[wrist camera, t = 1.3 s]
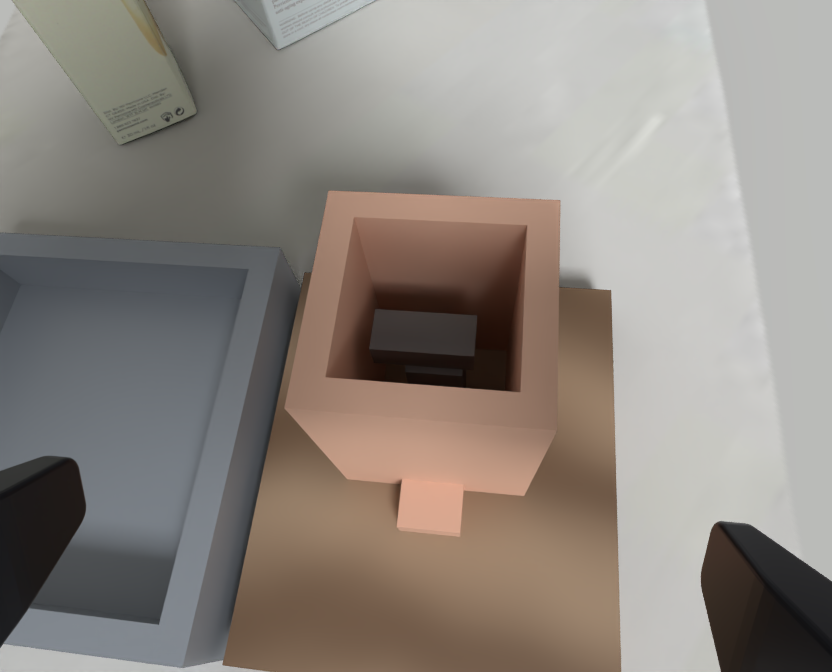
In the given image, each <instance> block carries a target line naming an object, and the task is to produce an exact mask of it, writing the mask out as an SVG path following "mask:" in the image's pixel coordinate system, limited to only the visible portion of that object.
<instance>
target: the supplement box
mask: <svg viewBox="0 0 832 672" xmlns="http://www.w3.org/2000/svg"><path fill="white" fill-rule="evenodd" d="M234 1H235V2H236V3H237V4H238V5H239V6H240V8H241V9H242V10H243V11H244V12H245V13H246V14H247V16H248V17H249V18H250V19H251V20H252V21H253V22H254V24H255V25H256V26H257V27H258V28H259V29H260V30H261V32H262V33H263V34H264V35H265V36H266V37H267V38H268V40H269V41H270V42H271V43H272V44H273V45H274V46H275V48H276V49H278V50H279V49H282V48H284V47H286V46H288V45H290V44H292V43H294V42H296V41H298V40H300V39H302V38H304V37H306V36H308V35H309V34H311V33H313V32H315V31H317V30H319V29H321V28H323V27H325V26H327V25H329V24H331V23H333V22H335V21H337V20H339V19H341V18H343V17H345V16H346V15H348V14H350V13H352V12H354V11H356V10H358V9H360V8H362V7H363V6H365V5H367V4H369V3H371V2H373V1H375V0H234Z"/></svg>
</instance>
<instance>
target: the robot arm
mask: <svg viewBox="0 0 832 672" xmlns="http://www.w3.org/2000/svg"><path fill="white" fill-rule="evenodd" d="M85 513H86V500H85V495H84V490H83V485H82V480H81V475H80V470H79V466H78V464H77V462H76V461H75V460H74V459H72V458H70V457H60V456H49V455H48V456H42V457H39V458H36V459H33V460H30V461H27V462H24V463H21V464H18V465H15V466H13V467H10V468H7V469H4V470H1V471H0V648H1V646H2V645H3V644H4V642H5V641H6V640H7V638H8V637H9V636H10V634H11V633H12V632H13V630H14V629H15V627H16V626H17V625H18V623H19V622H20V620H21V619H22V618H23V616H24V615H25V613H26V612H27V610H28V609H29V607H30V606H31V604H32V603H33V601H34V599H35V598H36V596H37V595H38V593H39V591H40V590H41V588H42V587H43V585H44V583H45V582H46V580H47V579H48V577H49V575H50V574H51V572H52V570H53V569H54V567H55V566H56V564H57V562H58V561H59V559H60V557H61V556H62V554H63V553H64V551H65V549H66V548H67V546H68V545H69V543H70V541H71V540H72V538H73V536H74V535H75V533H76V532H77V530H78V528H79V527H80V525H81V523H82V522H83V519H84V517H85ZM701 587H702V593H703V597H704V601H705V605H706V610H707V614H708V618H709V622H710V627H711V631H712V635H713V639H714V644H715V648H716V652H717V656H718V661H719V665H720V669H721V672H832V581H830V580H829V579H828V578H826V577H824V576H823V575H822V574H820V573H819V572H818V571H816V570H815V569H813V568H812V567H810V566H809V565H807V564H806V563H805V562H803V561H802V560H800V559H799V558H797V557H796V556H795V555H793V554H792V553H790V552H789V551H787V550H786V549H785V548H783V547H782V546H780V545H779V544H777V543H776V542H775V541H773V540H772V539H770V538H769V537H767V536H766V535H765V534H763V533H762V532H760V531H759V530H757V529H756V528H754V527H753V526H751V525H749V524H745V523H734V522H724V521H719V522H717V523H716V524H714V526H713V528H712V530H711V533H710V537H709V541H708V545H707V550H706V554H705V558H704V562H703V566H702V571H701Z"/></svg>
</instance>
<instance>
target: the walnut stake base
mask: <svg viewBox="0 0 832 672" xmlns="http://www.w3.org/2000/svg"><path fill="white" fill-rule="evenodd" d="M311 275H312V273H304V278H303V283H302V287H301V292H300V297H299V302H298V306H297V311H296V316H295V321H294V326H293V330H292V335H291V340H290V345H289V349H288V354H287V359H286V364H285V369H284V373H283V378H282V383H281V388H280V392H279V397H278V402H277V407H276V412H275V416H274V421H273V426H272V431H271V435H270V440H269V445H268V450H267V455H266V459H265V464H264V469H263V474H262V478H261V483H260V488H259V493H258V497H257V502H256V507H255V512H254V517H253V521H252V526H251V531H250V536H249V540H248V545H247V550H246V555H245V560H244V564H243V569H242V574H241V579H240V583H239V588H238V593H237V598H236V603H235V607H234V612H233V617H232V622H231V626H230V631H229V636H228V641H227V646H226V650H225V655H224V660H223V665H225V666H232V667H240V668H247V669H255V670H262V671H270V672H621V647H620V609H619V571H618V533H617V495H616V457H615V419H614V381H613V343H612V305H611V290H598V289H581V288H563V287H559V334H558V409H557V432H556V434H555V436H554V438H553V440H552V442H551V444H550V446H549V448H548V450H547V452H546V454H545V456H544V458H543V460H542V462H541V464H540V466H539V468H538V470H537V472H536V474H535V475H534V477H533V479H532V481H531V483H530V485H529V487H528V489H527V491H526V493H525V495H524V496H517V495H507V494H496V493H486V492H475V491H465V490H464V494H463V508H462V521H461V534H460V537H456V536H447V535H437V534H427V533H418V532H408V531H400V530H399V529H398V528H397V519H398V510H399V501H400V493H401V484H392V483H381V482H371V481H360V480H350V479H347V478H346V477H345V476H344V475H343V474H342V473H341V472H340V471H339V469H338V468H337V467H336V466H335V465H334V464H333V463H332V461H331V460H330V459H329V458H328V457H327V456H326V455H325V454H324V452H323V451H322V450H321V449H320V448H319V447H318V446H317V444H316V443H315V442H314V441H313V440H312V439H311V438H310V437H309V435H308V434H307V433H306V432H305V431H304V430H303V429H302V428H301V426H300V425H299V424H298V423H297V422H296V421H295V420H294V418H293V417H292V416H291V415H290V414H289V413H288V412H287V411H286V409H285V408H284V407H285V402H286V397H287V393H288V388H289V383H290V378H291V373H292V368H293V363H294V358H295V353H296V348H297V343H298V339H299V334H300V329H301V324H302V319H303V314H304V309H305V304H306V299H307V294H308V289H309V285H310V280H311ZM476 331H477V315H461V314H446V313H430V312H414V311H398V310H383V309H375V313H374V320H373V326H372V333H371V340H370V346H369V350H370V353H371V356H372V358H373V361H374V363H382V364H386V369H385V377H384V382H393V383H405V384H418V385H431V386H444V387H457V388H470V389H483V390H496V391H505V380H506V360H507V351H502V350H488V349H475V345H476Z"/></svg>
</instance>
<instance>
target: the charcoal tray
mask: <svg viewBox="0 0 832 672" xmlns="http://www.w3.org/2000/svg"><path fill="white" fill-rule="evenodd" d="M300 292H301V288H300V286H299V284H298V282H297V280H296V278H295V276H294V274H293V272H292V270H291V268H290V266H289V264H288V262H287V260H286V258H285V256H284V254H283V252H282V250H281V248H280V247H261V246H242V245H224V244H205V243H186V242H167V241H148V240H130V239H111V238H92V237H73V236H55V235H36V234H17V233H0V471H1V470H4V469H7V468H10V467H13V466H15V465H18V464H21V463H24V462H27V461H30V460H33V459H36V458H39V457H42V456H48V455H49V456H60V457H70V458H72V459H74V460H75V461H76V462H77V464H78V466H79V470H80V475H81V480H82V485H83V490H84V495H85V500H86V513H85V517H84V519H83V522H82V523H81V525H80V527H79V528H78V530H77V532H76V533H75V535H74V536H73V538H72V540H71V541H70V543H69V545H68V546H67V548H66V549H65V551H64V553H63V554H62V556H61V557H60V559H59V561H58V562H57V564H56V566H55V567H54V569H53V570H52V572H51V574H50V575H49V577H48V579H47V580H46V582H45V583H44V585H43V587H42V588H41V590H40V591H39V593H38V595H37V596H36V598H35V599H34V601H33V603H32V604H31V606H30V607H29V609H28V610H27V612H26V613H25V615H24V616H23V618H22V619H21V620H20V622H19V623H18V625H17V626H16V627H15V629H14V630H13V632H12V633H11V634H10V636H9V637H8V638H7V640H6V641H5V642H4V644H8V645H16V646H23V647H31V648H38V649H45V650H53V651H60V652H68V653H75V654H83V655H90V656H97V657H105V658H112V659H120V660H127V661H134V662H142V663H149V664H157V665H164V666H172V667H179V668H185V667H190V666H195V665H200V664H205V663H210V662H215V661H220V660H224V655H225V650H226V646H227V641H228V636H229V631H230V626H231V622H232V617H233V612H234V607H235V603H236V598H237V593H238V588H239V583H240V579H241V574H242V569H243V564H244V560H245V555H246V550H247V545H248V540H249V536H250V531H251V526H252V521H253V517H254V512H255V507H256V502H257V497H258V493H259V488H260V483H261V478H262V474H263V469H264V464H265V459H266V455H267V450H268V445H269V440H270V435H271V431H272V426H273V421H274V416H275V412H276V407H277V402H278V397H279V392H280V388H281V383H282V378H283V373H284V369H285V364H286V359H287V354H288V349H289V345H290V340H291V335H292V330H293V326H294V321H295V316H296V311H297V306H298V302H299V297H300Z"/></svg>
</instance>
